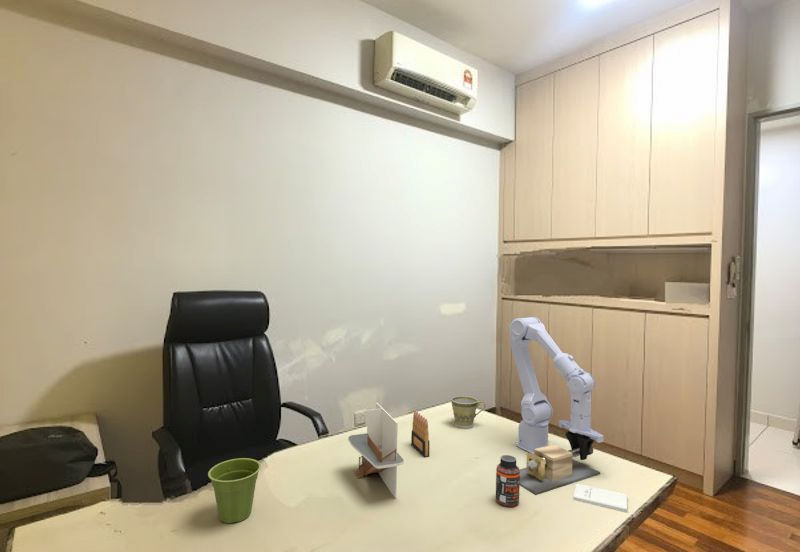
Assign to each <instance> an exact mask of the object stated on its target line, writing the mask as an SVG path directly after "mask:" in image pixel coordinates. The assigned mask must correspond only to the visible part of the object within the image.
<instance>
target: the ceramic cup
mask: <svg viewBox="0 0 800 552" xmlns="http://www.w3.org/2000/svg"><path fill="white" fill-rule="evenodd" d="M478 401H479V400H478V399H477V398H475V397H473V396H469V395H458V396H453V397H451V406H452V411H453V417H454V425H455V427H457V428H459V429H465V430H466V429H471V428H473V425H474V422H475V419H476V416H478V415H479V414H480V413H481V412H483V411H484V410H485V409H486V404H485V403H484V402H482V401H480V402H478ZM480 405H483V406H484V407H483V408H482V409H481V410H479V411H478V412H476V410H477V409H478V407H479V406H480Z"/></svg>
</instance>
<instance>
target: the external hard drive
mask: <svg viewBox="0 0 800 552" xmlns="http://www.w3.org/2000/svg"><path fill="white" fill-rule="evenodd" d="M575 483H576V484H575V488H574V491H573V497H572V498H573V500H574V501H577V502H581V503H584V504H585V503H586V504H590V505H592V506H599V507H601V508H606V509H610V510H614V511H618V512H622V513H626V514H627V513H628V495H627V493H622V492H618V491H614V490H609V489H604V488H599V487H594V486H591V485H585V484H580V483H577V482H575Z"/></svg>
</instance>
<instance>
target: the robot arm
mask: <svg viewBox="0 0 800 552" xmlns="http://www.w3.org/2000/svg"><path fill="white" fill-rule="evenodd" d="M508 330H509V333H510V337H509V338H510V339H509V344H510V349H511V353H512V356H513V360H514V364H515V367H516V370H517V374H518V379H519V382H520V385H521V389H522V393H523V397H522V399H521V402H520V405H521V413H520V415H521V417H522V420H521V421H520V422H519V424H518V429H517V430H518V433H517V434H518V437H517V439H518V440H517V443H516V445H515V446H517V447H518V448H520V449H522V450H524V451H526V452H527V453H533V454H534V449H537V448H541V447H545V446H549V423H550V419H552V417H553V415H554V410H553V407H552V405H551V403H550V402H549V401H548V398H547V396H546V395H545V394H544V393H542V392H541V389H540V385H539V383H538V378H537V374H536V372H535V367H534V364H533V361H532V357H531V354H530V351H529V350H530V349H529V348H528V346H529V345H530V343H531V341H535V342H538V344H539V345H540V346H541V347H542V348H543V349H544V350H545V352H546V353H548V354H549V356H550V357H551V358H552V359H553V363H552V365H553V366H554V367H555V368H556V370H557V371H558V372H559V374H561V376H562V377H563V378H564V379H565V381H566V384H567V385H566V386H567V389H568V391H569V392H570V421H569V420H565V419H561V420H558V427H559V428H561V429H562V428H564V429H566V430H567V431H566V432H565V437H566V438H567V440H568V443H569V445H570V446H569V447H570V448H571V449H575V448H580V455H579V459H580V460H581V461H586V460H587V458H588V456H589V455H588V452H589V450H590V447H591V445H592V446H593V444H594V443H595V442H596V443H598V444H600V443H603V442H604V435H603V434H601V433H600V432H598V431H596V430H594V429H593V428H591V427H592V426H591V423H592V422H591V421H592V392H593V390H594V389H595V387H596V381H595V378H594V376H593V375H592V374H591V373H589V372H587V371H585V370H584V369H583V368H581V367H580V366H579V364H578V363H577V362H576V361H575V360H574V358H575V357H574V356H573V355H570V354H569V353H567V352H565V353H564V352H563V351H562V350H561V349H560V347H559V346H558V344H557V343H556V342H555V341H554V340H553V338H552V337H551V335H550V334H549V333H548V331H547V330H546V327H545V324H543V322H541V320H540V319H539V318H538V317H536V316H530V317H521V318H520V317H516V318H514V319H513V320H512V321H511V323H510V324H509V326H508ZM571 449H570V450H571ZM576 457H577V456H575V457H574V458H576Z"/></svg>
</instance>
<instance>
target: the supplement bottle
mask: <svg viewBox="0 0 800 552" xmlns="http://www.w3.org/2000/svg"><path fill="white" fill-rule="evenodd" d="M499 462H500V463H498V464H497V465H496V469H495V470H496V471H495V473H496V474H495V500H496V502H497V503H499V504H500V505H501V506H504V507H511V508H512V507H515V506H518V505H519V503H520V487H521V486H520V468H519V466H518V464H517V458H516V457H515V456H513V455H509V454H503V455H501V456H500V460H499Z"/></svg>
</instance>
